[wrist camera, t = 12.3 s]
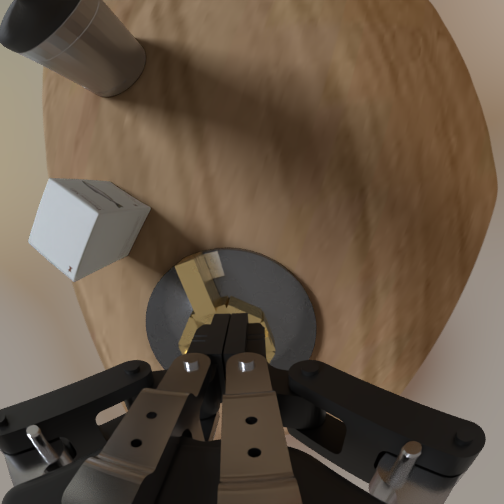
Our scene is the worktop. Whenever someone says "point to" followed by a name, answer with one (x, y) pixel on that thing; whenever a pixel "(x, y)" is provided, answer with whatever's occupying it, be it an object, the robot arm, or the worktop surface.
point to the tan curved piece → (213, 302)
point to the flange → (246, 289)
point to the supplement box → (85, 225)
